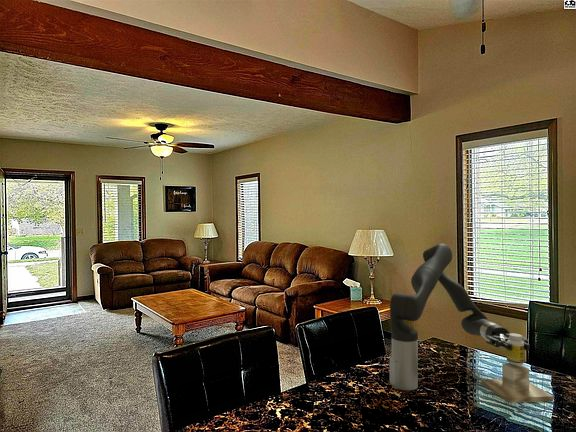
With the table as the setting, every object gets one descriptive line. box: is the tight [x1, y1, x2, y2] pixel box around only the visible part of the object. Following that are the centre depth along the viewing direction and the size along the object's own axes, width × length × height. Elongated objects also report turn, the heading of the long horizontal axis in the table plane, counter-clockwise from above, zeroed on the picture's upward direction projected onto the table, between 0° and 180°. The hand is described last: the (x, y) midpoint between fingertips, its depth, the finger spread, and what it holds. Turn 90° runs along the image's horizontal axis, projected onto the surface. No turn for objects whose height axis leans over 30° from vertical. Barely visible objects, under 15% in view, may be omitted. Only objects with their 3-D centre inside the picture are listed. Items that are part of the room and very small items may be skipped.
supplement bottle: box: [506, 332, 525, 365], centre depth 147 cm, size 5×5×10 cm
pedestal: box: [480, 362, 554, 404], centre depth 147 cm, size 16×16×9 cm
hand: (519, 347), depth 144 cm, fingers closed on supplement bottle, 5 cm apart
